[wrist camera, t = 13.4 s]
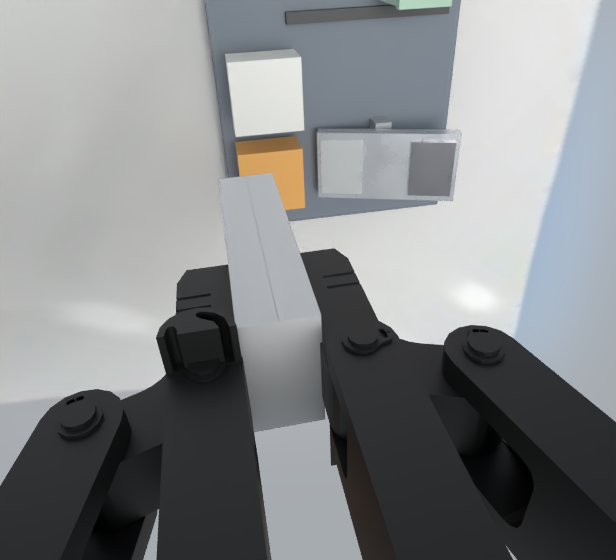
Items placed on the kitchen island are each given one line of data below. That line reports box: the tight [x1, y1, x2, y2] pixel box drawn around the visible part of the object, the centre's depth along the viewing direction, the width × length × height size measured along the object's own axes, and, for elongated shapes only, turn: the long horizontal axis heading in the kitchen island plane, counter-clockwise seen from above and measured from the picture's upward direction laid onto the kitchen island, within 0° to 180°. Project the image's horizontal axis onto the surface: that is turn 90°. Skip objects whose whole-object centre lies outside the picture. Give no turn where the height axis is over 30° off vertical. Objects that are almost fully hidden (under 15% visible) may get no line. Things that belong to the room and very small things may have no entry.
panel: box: [205, 0, 461, 221], centre depth 36 cm, size 17×20×4 cm
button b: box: [225, 49, 304, 137], centre depth 32 cm, size 4×4×3 cm
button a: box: [235, 136, 305, 210], centre depth 37 cm, size 4×4×3 cm
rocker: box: [317, 128, 461, 201], centre depth 37 cm, size 10×5×1 cm, turn 92°
